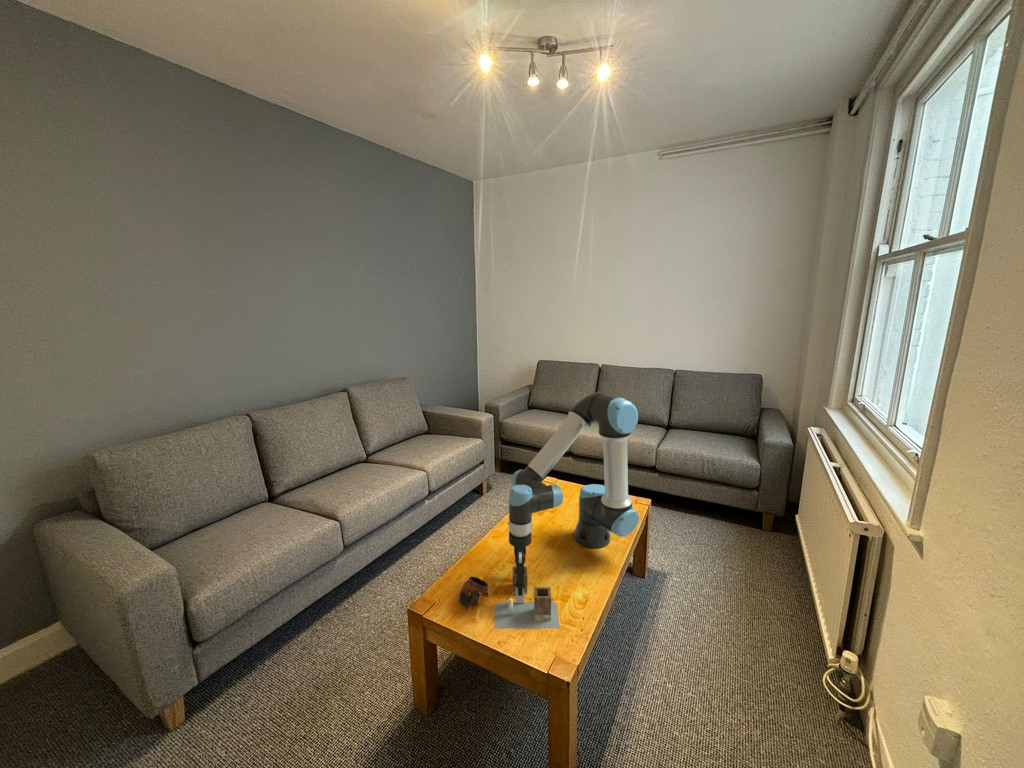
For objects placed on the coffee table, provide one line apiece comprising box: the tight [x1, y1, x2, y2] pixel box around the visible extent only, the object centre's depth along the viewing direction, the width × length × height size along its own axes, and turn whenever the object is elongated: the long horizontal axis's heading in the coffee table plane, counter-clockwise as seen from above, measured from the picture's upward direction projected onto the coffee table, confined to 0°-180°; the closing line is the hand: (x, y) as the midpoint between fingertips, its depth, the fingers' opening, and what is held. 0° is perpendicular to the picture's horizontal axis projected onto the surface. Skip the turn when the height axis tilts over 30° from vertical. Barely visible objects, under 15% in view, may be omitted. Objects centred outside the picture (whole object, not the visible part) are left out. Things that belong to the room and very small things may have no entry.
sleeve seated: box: [533, 586, 552, 621], centre depth 132 cm, size 5×5×8 cm
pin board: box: [493, 597, 561, 629], centre depth 132 cm, size 20×11×7 cm, turn 90°
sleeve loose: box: [512, 566, 528, 595], centre depth 144 cm, size 5×5×8 cm
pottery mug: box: [458, 576, 490, 609], centre depth 140 cm, size 12×10×8 cm
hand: (519, 590), depth 143 cm, fingers open, 11 cm apart
